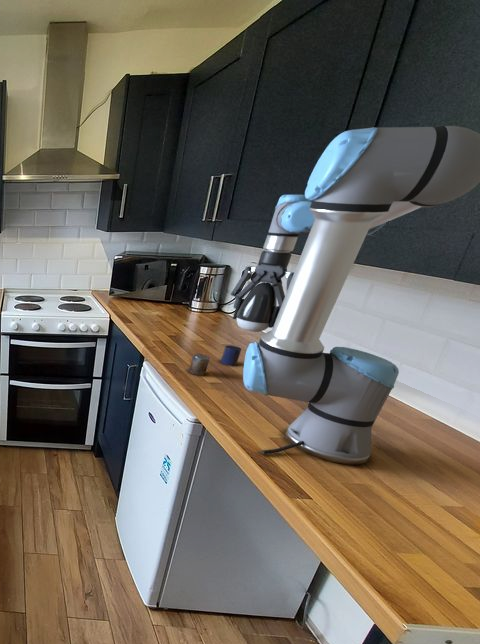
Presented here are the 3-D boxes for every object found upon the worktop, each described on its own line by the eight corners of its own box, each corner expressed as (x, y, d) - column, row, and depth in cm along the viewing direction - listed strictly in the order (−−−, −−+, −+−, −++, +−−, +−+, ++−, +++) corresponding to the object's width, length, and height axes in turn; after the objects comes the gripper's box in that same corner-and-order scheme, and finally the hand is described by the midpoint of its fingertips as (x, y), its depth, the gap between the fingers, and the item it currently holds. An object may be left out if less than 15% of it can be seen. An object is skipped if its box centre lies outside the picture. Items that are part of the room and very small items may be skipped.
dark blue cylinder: (231, 366, 143) (237, 350, 141) (217, 362, 147) (222, 346, 145) (238, 364, 146) (244, 348, 143) (225, 360, 150) (229, 344, 147)
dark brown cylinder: (199, 376, 133) (204, 360, 131) (185, 371, 137) (190, 355, 135) (208, 374, 136) (213, 357, 133) (193, 369, 140) (198, 353, 137)
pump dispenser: (277, 334, 126) (295, 286, 120) (244, 333, 126) (260, 284, 120) (257, 326, 135) (273, 280, 129) (226, 324, 135) (240, 279, 129)
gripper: (328, 255, 114) (298, 330, 123) (244, 247, 131) (224, 313, 140) (316, 256, 110) (287, 333, 119) (231, 247, 128) (212, 315, 137)
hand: (253, 322), depth 130 cm, fingers closed on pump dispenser, 10 cm apart
